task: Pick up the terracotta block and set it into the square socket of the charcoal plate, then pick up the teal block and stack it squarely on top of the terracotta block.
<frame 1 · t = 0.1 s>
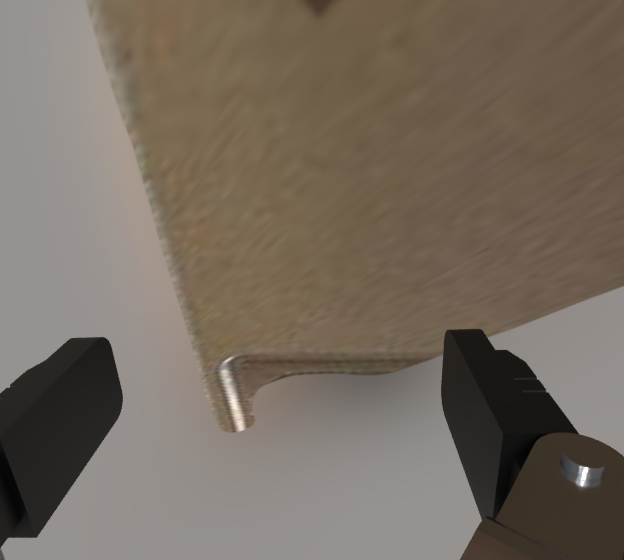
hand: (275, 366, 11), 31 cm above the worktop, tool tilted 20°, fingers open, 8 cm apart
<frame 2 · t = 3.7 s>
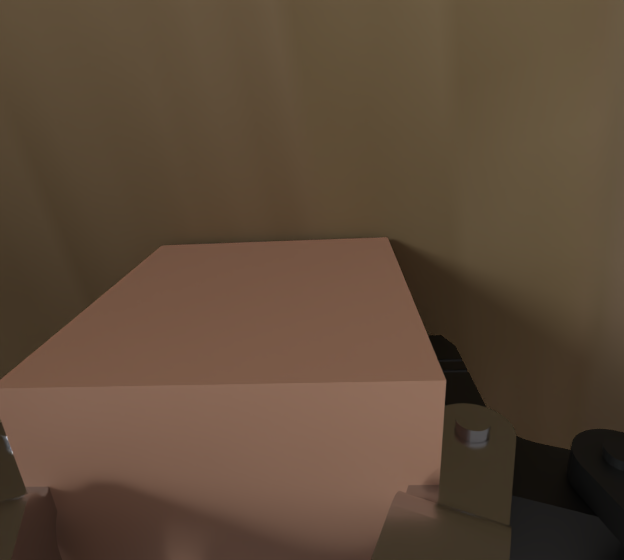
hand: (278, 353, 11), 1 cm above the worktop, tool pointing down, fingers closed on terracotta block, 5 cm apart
terracotta block: (281, 341, 12), on the worktop, touching gripper
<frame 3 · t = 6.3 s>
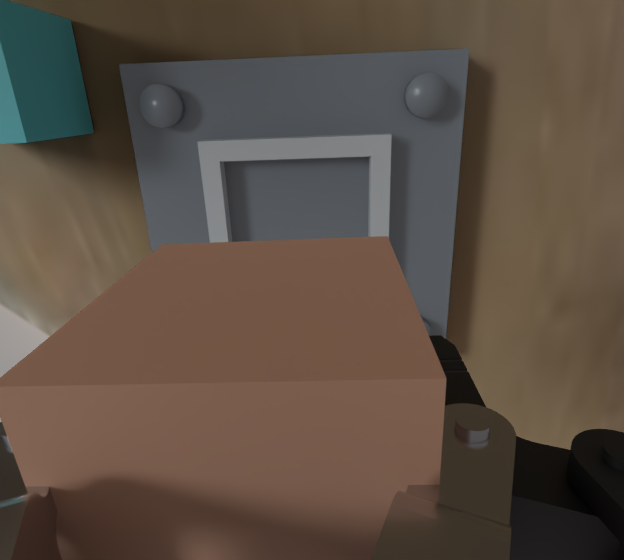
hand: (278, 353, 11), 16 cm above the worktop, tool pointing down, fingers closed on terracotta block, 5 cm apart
teal block: (32, 81, 24), on the worktop
terracotta block: (281, 340, 12), point 15 cm above the worktop, touching gripper
plate: (300, 220, 26), on the worktop
when the fingers open (3 cm above the worktop, at t = 9.2 s): terracotta block drops 1 cm, resting on plate.
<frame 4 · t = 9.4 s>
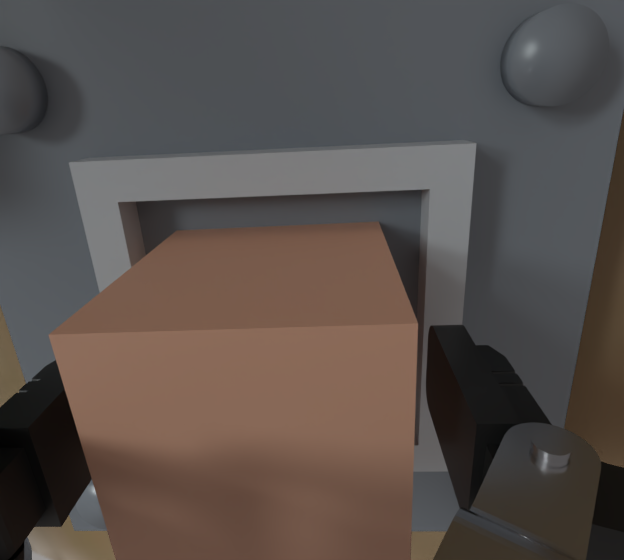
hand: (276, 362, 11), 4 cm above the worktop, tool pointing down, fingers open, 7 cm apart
terracotta block: (284, 317, 13), point 1 cm above the worktop, touching plate
plate: (290, 298, 15), on the worktop
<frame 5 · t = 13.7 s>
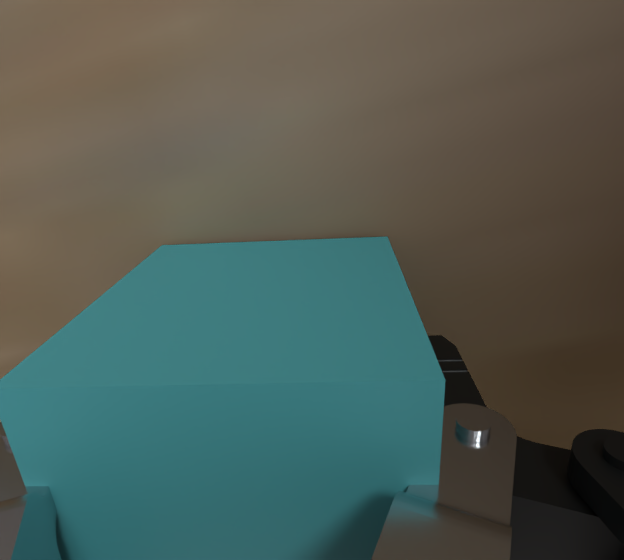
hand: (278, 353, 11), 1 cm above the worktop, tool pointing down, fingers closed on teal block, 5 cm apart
teal block: (281, 341, 12), on the worktop, touching gripper
when the fingers open (9 cm above the worktop, at t = 19.1 s): teal block drops 1 cm, resting on terracotta block.
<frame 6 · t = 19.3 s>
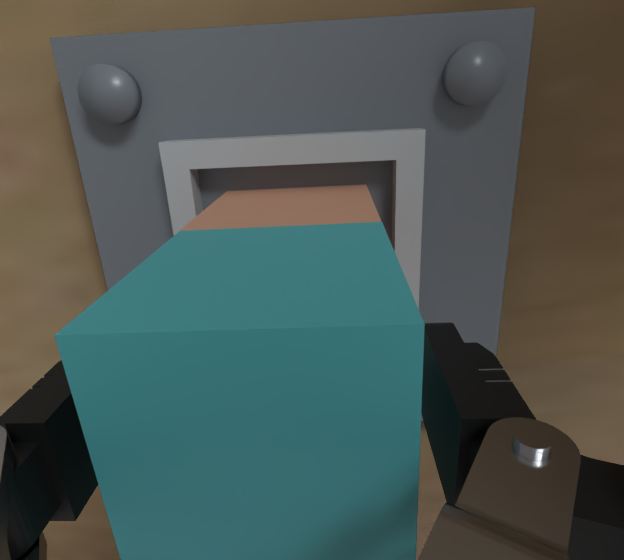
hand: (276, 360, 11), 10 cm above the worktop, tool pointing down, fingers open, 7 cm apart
teal block: (287, 317, 13), point 7 cm above the worktop, touching terracotta block
terracotta block: (300, 254, 19), point 1 cm above the worktop, touching plate, teal block
plate: (301, 244, 20), on the worktop
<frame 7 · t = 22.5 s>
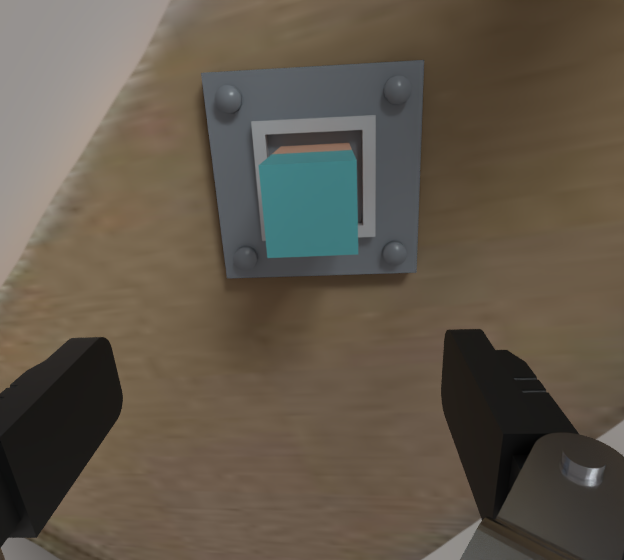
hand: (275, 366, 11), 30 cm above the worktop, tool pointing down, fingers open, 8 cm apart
teal block: (314, 192, 32), point 7 cm above the worktop, touching terracotta block
terracotta block: (316, 179, 37), point 1 cm above the worktop, touching plate, teal block
plate: (316, 176, 39), on the worktop
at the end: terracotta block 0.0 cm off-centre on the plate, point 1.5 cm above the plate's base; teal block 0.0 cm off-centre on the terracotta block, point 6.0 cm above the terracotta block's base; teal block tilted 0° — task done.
